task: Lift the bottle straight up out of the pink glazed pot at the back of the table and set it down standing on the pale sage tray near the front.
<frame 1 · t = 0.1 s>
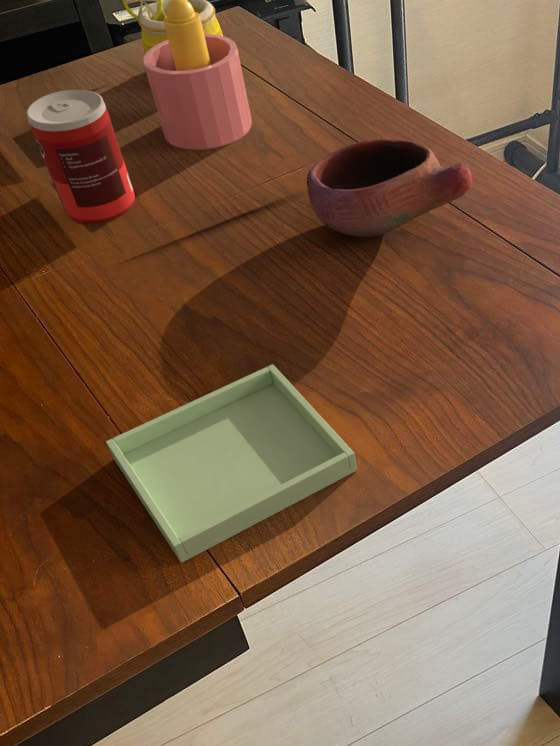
bottle: (208, 127, 101), point 1 cm above the table, touching pot
bowl: (390, 225, 87), on the table
canned food: (102, 210, 92), on the table
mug: (188, 75, 113), on the table
pot: (209, 132, 102), on the table
tray: (233, 464, 67), on the table
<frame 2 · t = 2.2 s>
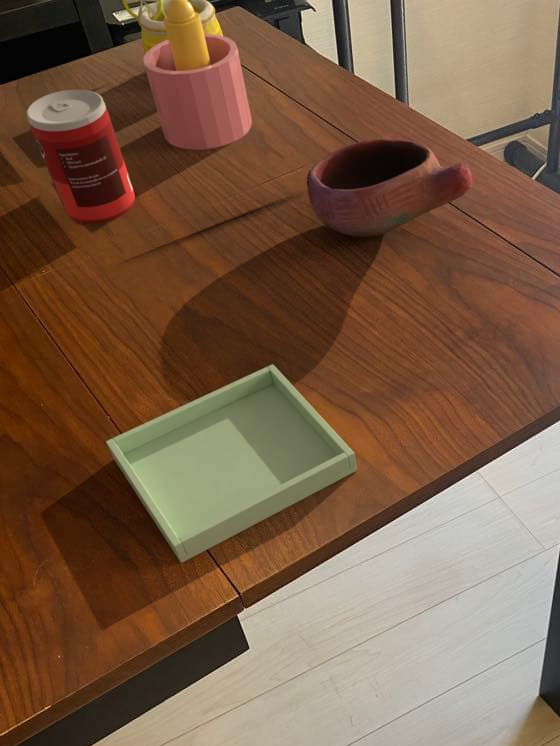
nothing on the table moved.
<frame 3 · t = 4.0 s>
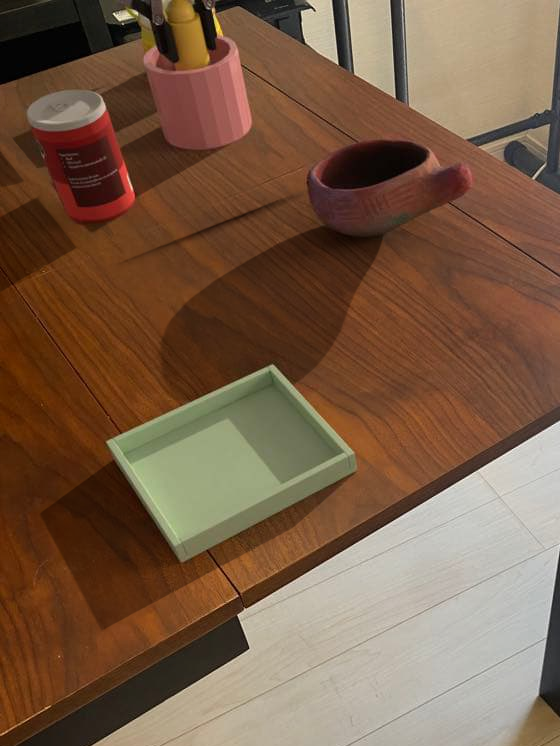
hand: (189, 51, 95), 9 cm above the table, tool pointing down, fingers closed on bottle, 4 cm apart
bottle: (208, 127, 101), point 1 cm above the table, touching gripper, pot
everything else where it was.
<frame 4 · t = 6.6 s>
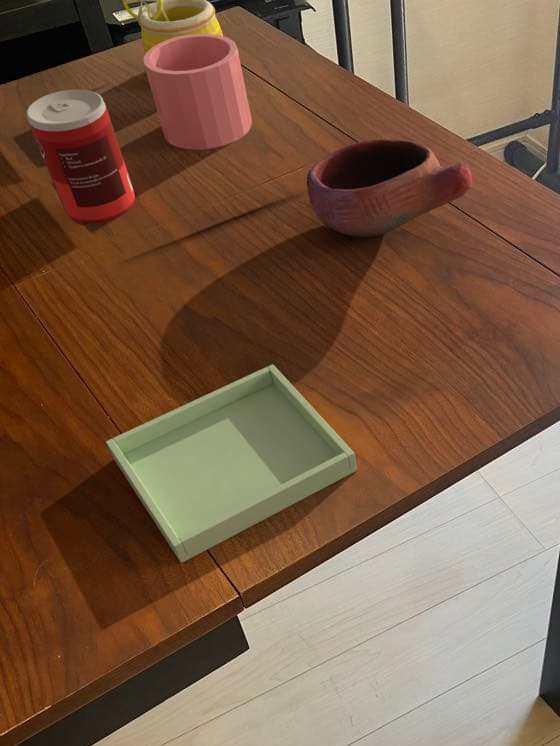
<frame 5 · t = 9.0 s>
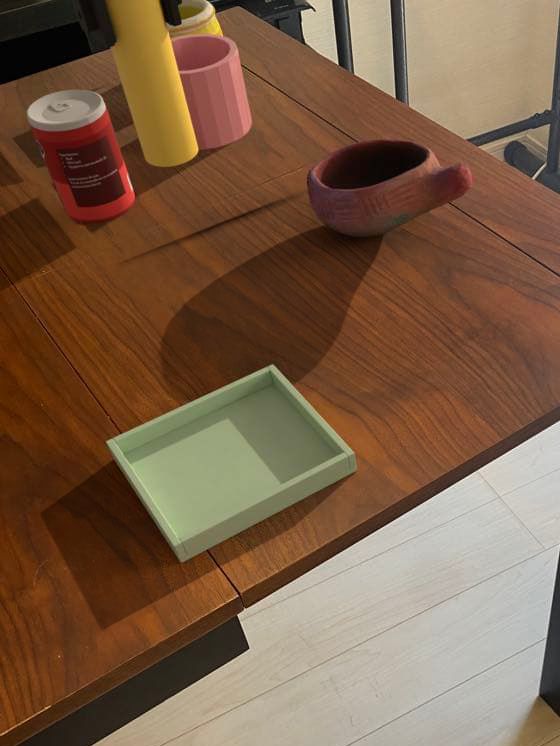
hand: (135, 27, 56), 26 cm above the table, tool pointing down, fingers closed on bottle, 4 cm apart
bottle: (171, 153, 63), point 18 cm above the table, touching gripper
everything else where it was.
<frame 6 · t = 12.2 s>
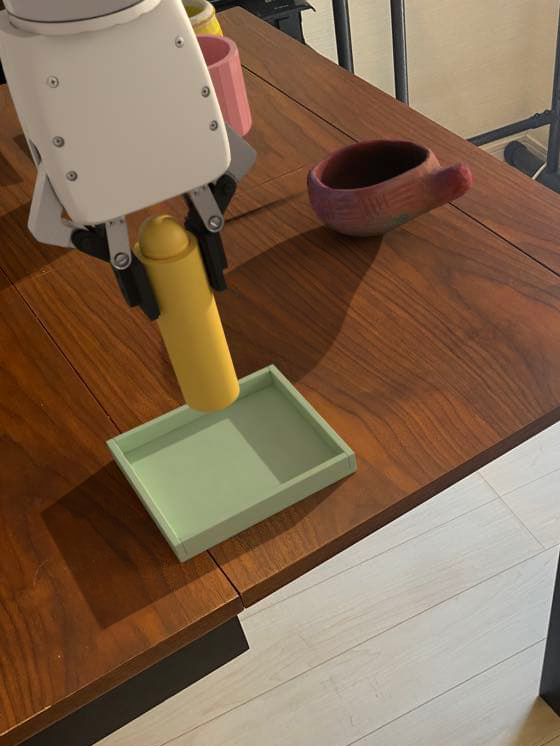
hand: (179, 293, 54), 16 cm above the table, tool pointing down, fingers closed on bottle, 4 cm apart
bottle: (212, 393, 61), point 8 cm above the table, touching gripper
everything else where it was.
when the fingers open (9 cm above the table, at t = 14.2 s): bottle stays where it is, resting on tray.
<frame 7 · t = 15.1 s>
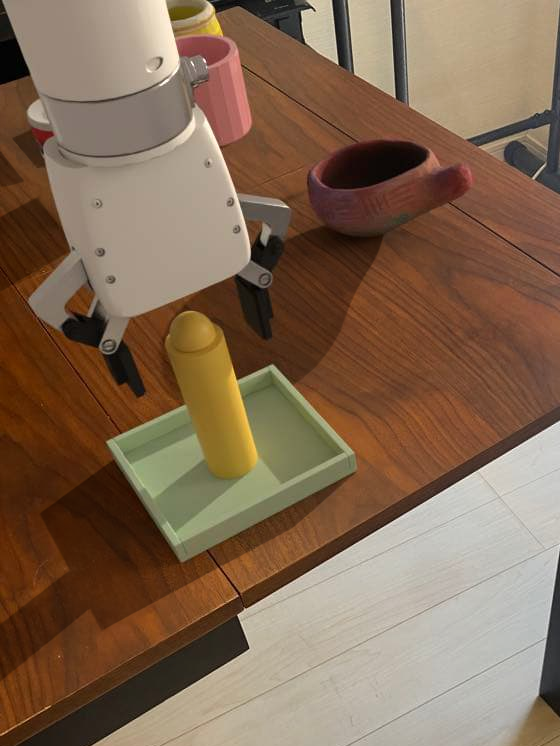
hand: (198, 357, 58), 11 cm above the table, tool pointing down, fingers open, 9 cm apart
bottle: (232, 460, 66), resting on tray
everything else where it was.
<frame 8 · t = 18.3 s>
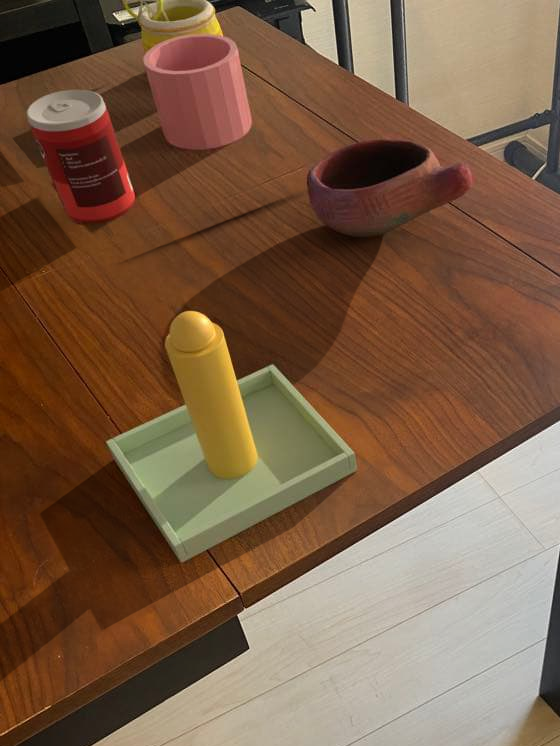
nothing on the table moved.
at the end: bottle inside the target area in the tray (0.1 cm from its centre), point 0.5 cm above the tray's base; the gripper is holding nothing; bottle moved 56.9 cm from its start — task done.
